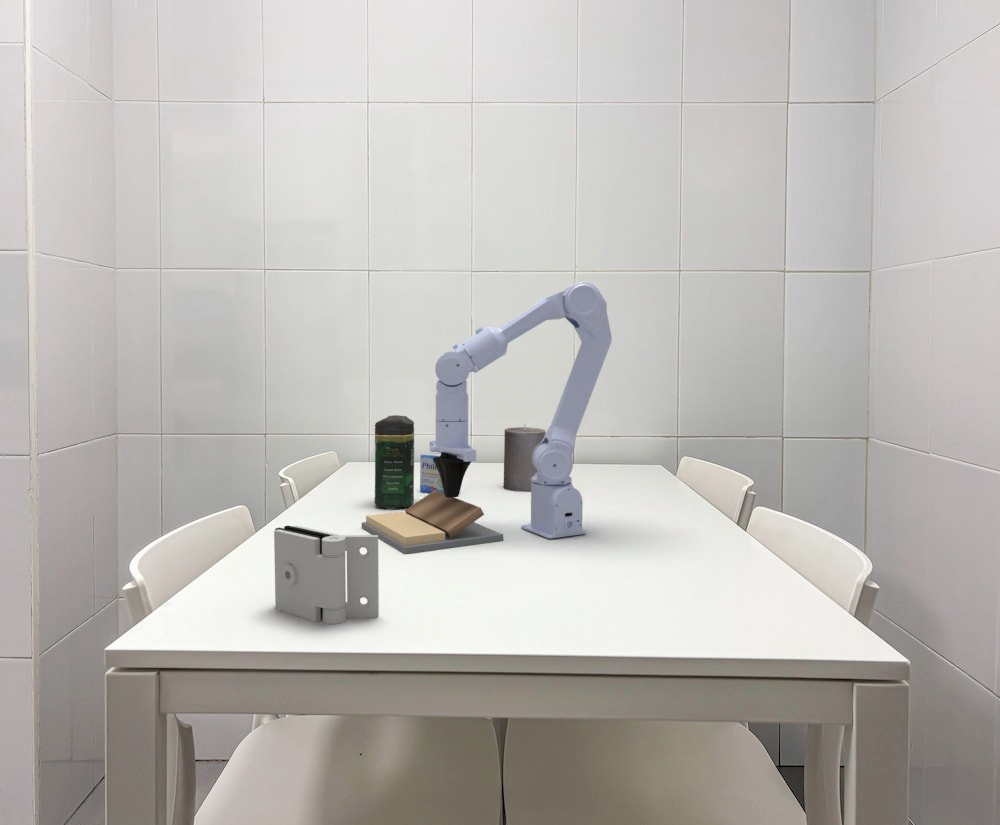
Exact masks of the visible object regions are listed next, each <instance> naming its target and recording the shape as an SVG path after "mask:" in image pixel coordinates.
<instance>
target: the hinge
mask: <svg viewBox="0 0 1000 825" xmlns="http://www.w3.org/2000/svg"><path fill="white" fill-rule="evenodd" d="M273 540H274V542H273V543H274V544H273V545H274V548H273V549H274V593H275V594H274V597H275V599H274V600H275V601H274V602H275V604H274V605H275V610H277V611H280V612H283V613H284V612H285V613H287V614H289V615H293V616H296V617H300V618H304V619H306V620H309V621H312V622H316V623H317V622H319V621H321V620H322V622H323V623H324V624H326V625H339V624H342V623H344V622H346V620H347V619H348V618H353V619H354V618H378V617H379V615H380V610H379V608H380V607H379V606H380V605H379V603H380V602H379V601H380V600H379V595H380V594H379V593H380V592H379V590H380V588H379V585H380V584H379V576H380V575H379V538H378V535H373V534H366V535H365V534H344V535H343V534H342V535H339V534H337V533H334V532H328V531H324V530H319V529H314V528H308V527H305V526H300V525H293V526H292V525H285V526H284V527H276V528H275V530H273ZM361 548H365V549H366V552H365V553H361V552H360V549H361ZM346 595H347V596H346ZM362 598H365V599H366V601H367V602H366V603H362V602H361V599H362ZM346 600H347V601H346ZM321 618H322V619H321Z"/></svg>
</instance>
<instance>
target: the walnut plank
mask: <svg viewBox="0 0 1000 825" xmlns="http://www.w3.org/2000/svg"><path fill="white" fill-rule="evenodd" d="M404 513H406V514H408V515H410V516H412V517H414V518H416V519H419V520H421V521H423V522H425V523H427V524H429V525H431V526H433V527H435V528H437V529H439V530H441V531H443V532H445V535H446V536H448V537H450V538H452V537H453V536H455V535H456V534H458V533H459V532H461V531H462V530H463V529H465V528H466V527H468V526H469V525H470V524H472V523H473V522H475V523H476V521H477V520H479V519H480V518H482V517H483V516H484V515H485V513H484V511H483V509H482V507H480V506H477V505H475V504H472V503H469V502H467V501H464V500H462V499H459V498H458V497H452V498H448V497H445V494H444V493H441V492H439V491H436V490H435V491H433V492H432V493H428V494H427V495H426V496H424V497H423V498H421V499H420V500H418V501H417V502H415V503H413V504H411V505H410V506H408V508H406V509H404Z"/></svg>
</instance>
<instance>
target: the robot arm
mask: <svg viewBox="0 0 1000 825" xmlns="http://www.w3.org/2000/svg"><path fill="white" fill-rule="evenodd" d="M607 304H608V303H607V301H606V299H605V298H604V296H603V295H602V293H601V291H600V289H599V288H598V287H596V285H594V284H592V283H590V282H589V281H588V282H586V281H580V282H577V283H575V284H573V285H571V286H570V287H567V288H565V289H563V290H562V289H561V291H557V292H555V293H553V294H551V295H549V296H546V297H545V298H543V299H540V300H539V301H537V302H536V303H535V304H533V305H532V306H530V307H529V308H528V309H525V310H524V311H523V312H522V313H520V314H519V315H517V316H516V317H514V318H513V319H511V320H509V321H508V322H507V323H505V324H503V325H502V326H501V327H499V328H498V327H495V326H486V327H485V328H482V327H479V328H477V329H475V331H474V332H475V334H474V335H472V336H470V337H468V338H467V339H466V340H464V341H463V342H461V343H460V344H458V343H457V342H456V343H454V344H453V345H452V349H453V350H450V351H449V350H448V351H446V352H444V353H443V355H441V356H440V357H439V358H438V359H437V361H436V363H435V366H434V367H435V368H434V370H435V375H436V377H437V382H436V385H435V386H436V387H435V388H436V390H435V391H437V392H436V394H435V440H429V453H437V454H441V455H440V457H434V458H433V462H434V463H435V465H436V467H437V469H438V472H439V474H440V478H441V481H442V486H443V490H444V494H445V497H448V498H452V497H454V498H458V497H459V495H460V492H461V489H462V483H463V480H464V477H465V475H466V472H467V469H468V468H469V466H470V465H471V462H477V450H476V449H474V448H473V447H472V446H470V445H469V394H468V393H467V392H468V390H467V389H468V388H467V387H468V386H467V379H468V378H469V376H470V373H475V374H477V373H478V372H479V371H481V370H482V369H484V368H486V367H488V366H489V365H491V364H492V363H494V362H495V361H498V360H499V359H500V358H501V357H503V356H505V355H506V354H507V350H508V345H509V343H510V342H513V341H514V340H516V339H517V338H519V337H521V336H522V335H524V334H526V333H527V332H529V331H531V330H533V329H534V328H536V327H537V326H539V325H541V324H543V323H544V322H547V321H553V320H562V319H564V318H565V319H566V320H567V321H568V322H569V323H570V324H571V325H572V326H573V328H574V329H575V332H576V333H577V335H578V338H579V339H580V342H581V343H580V346H579V349H578V352H577V354H576V357H575V359H574V363H573V365H572V368H571V370H570V373H569V376H568V379H567V382H566V383H565V386H564V389H563V390H562V391H563V392H562V394H561V396H560V399H559V401H558V404H557V407H556V409H555V412H554V415H553V417H552V421H551V423H550V426H549V427H548V428H547V430H546V433H545V436H544V438H543V440H542V442H541V443H540V444H539V445H537V446H536V448H535V449H534V451H533V453H532V463H533V466H534V468H535V469H536V470H537V472H536V473H535V475H534V476H533V477H532V478H531V491H530V523H527V524H522V525H520V526H521V527H520V528H521V529H524V530H526V531H529V532H531V533H534V534H535V535H539V536H541V537H544V538H547V539H557V538H564V537H571V536H577V535H586V534H587V530H584V529H583V496H582V494H581V493H580V491H579V490H578V489H577V488H575V487H574V486H573V481H572V480H573V479H572V477H571V476H570V475H571V473H572V472H573V466H574V463H573V452H574V450H575V448H576V442H577V441H576V440H577V433H578V431H579V429H580V426H581V423H582V421H583V419H584V415H585V413H586V409H587V407H588V404H589V402H590V399H591V396H592V394H593V391H594V389H595V386H596V383H597V380H598V378H599V376H600V373H601V370H602V368H603V365H604V362H605V359H606V357H607V355H608V352H609V348H610V347H611V344H612V339H613V337H612V332H611V328H610V327H611V326H610V322H609V316H608V309H607V308H608V305H607Z"/></svg>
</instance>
